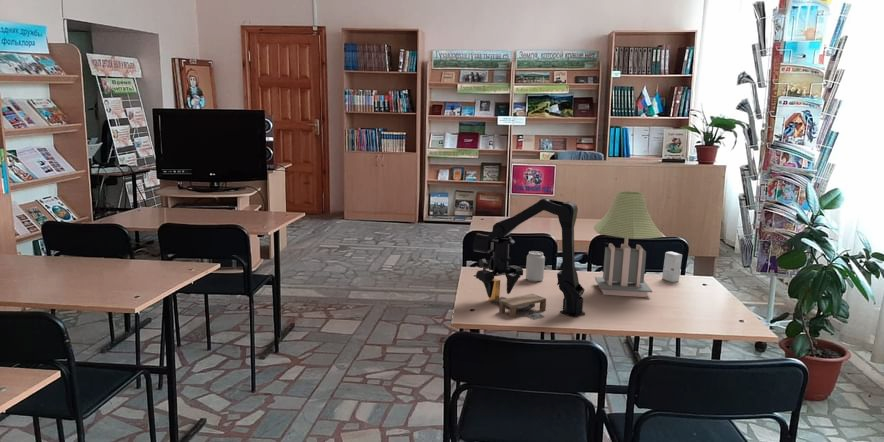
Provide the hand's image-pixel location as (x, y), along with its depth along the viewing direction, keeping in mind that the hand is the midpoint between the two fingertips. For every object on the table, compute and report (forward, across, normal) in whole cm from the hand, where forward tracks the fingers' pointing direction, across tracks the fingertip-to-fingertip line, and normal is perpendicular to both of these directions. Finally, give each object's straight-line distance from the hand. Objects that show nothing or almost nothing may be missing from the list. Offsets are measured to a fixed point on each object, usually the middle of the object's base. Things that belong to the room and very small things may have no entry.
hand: (498, 295), depth 238 cm
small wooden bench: (+2, 0, +13) cm, 13 cm away
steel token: (+3, 0, +19) cm, 19 cm away
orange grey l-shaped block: (+3, -1, +4) cm, 5 cm away
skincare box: (+3, -87, +14) cm, 88 cm away
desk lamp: (+3, -54, +14) cm, 56 cm away
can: (+3, -34, -16) cm, 38 cm away
